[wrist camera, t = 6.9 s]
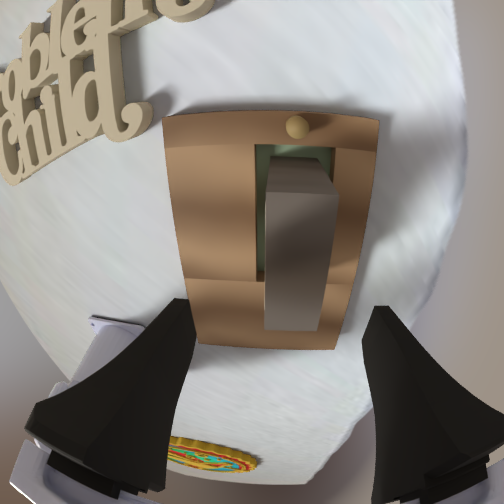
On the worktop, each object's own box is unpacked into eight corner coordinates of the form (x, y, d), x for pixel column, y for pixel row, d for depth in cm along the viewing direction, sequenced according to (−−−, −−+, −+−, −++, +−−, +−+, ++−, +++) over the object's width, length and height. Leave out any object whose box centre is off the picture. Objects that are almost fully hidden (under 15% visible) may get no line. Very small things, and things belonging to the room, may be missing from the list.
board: (332, 337, 25) (336, 362, 23) (202, 331, 26) (195, 355, 24) (370, 118, 15) (388, 123, 12) (171, 115, 16) (151, 120, 13)
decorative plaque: (136, 450, 59) (153, 434, 44) (139, 443, 61) (157, 423, 46) (227, 477, 64) (278, 465, 49) (228, 470, 67) (279, 456, 51)
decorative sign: (-11, 218, 20) (-40, 110, 12) (0, 210, 22) (-28, 106, 14) (240, 103, 14) (189, -72, 6) (244, 103, 16) (197, -61, 8)
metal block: (309, 262, 21) (317, 331, 15) (268, 260, 21) (263, 329, 15) (317, 158, 16) (340, 195, 11) (269, 156, 17) (264, 192, 11)
